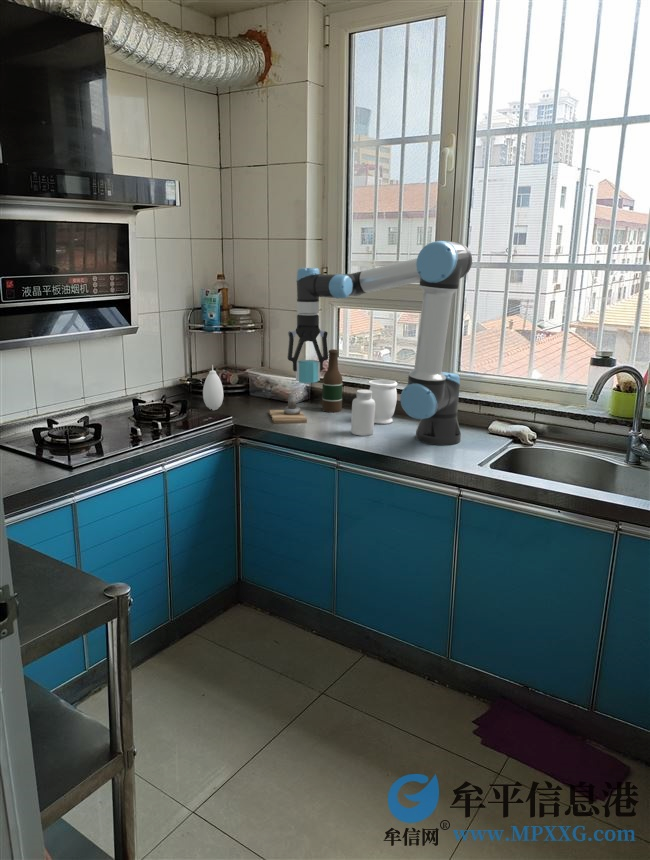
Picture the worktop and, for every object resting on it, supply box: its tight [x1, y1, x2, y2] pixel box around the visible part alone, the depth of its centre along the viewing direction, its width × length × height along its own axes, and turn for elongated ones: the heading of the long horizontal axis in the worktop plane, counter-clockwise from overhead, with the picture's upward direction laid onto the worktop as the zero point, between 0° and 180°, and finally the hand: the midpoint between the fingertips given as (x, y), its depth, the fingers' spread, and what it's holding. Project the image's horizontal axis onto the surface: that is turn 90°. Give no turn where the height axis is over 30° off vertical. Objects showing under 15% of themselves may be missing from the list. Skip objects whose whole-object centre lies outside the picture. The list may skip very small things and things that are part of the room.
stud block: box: [268, 392, 308, 424], centre depth 249 cm, size 16×12×9 cm
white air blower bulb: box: [202, 364, 224, 411], centre depth 257 cm, size 8×8×18 cm
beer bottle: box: [321, 349, 344, 413], centre depth 260 cm, size 8×8×24 cm
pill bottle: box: [350, 389, 375, 437], centre depth 230 cm, size 8×8×15 cm
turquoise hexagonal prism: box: [297, 359, 319, 384], centre depth 233 cm, size 7×7×7 cm
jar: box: [368, 379, 398, 425], centre depth 246 cm, size 11×10×15 cm
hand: (307, 380), depth 234 cm, fingers closed on turquoise hexagonal prism, 7 cm apart
